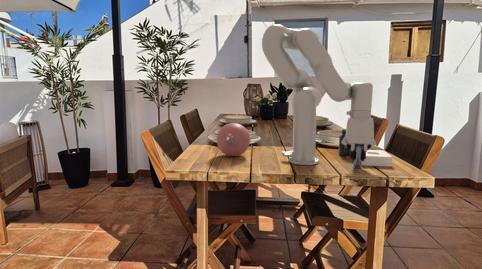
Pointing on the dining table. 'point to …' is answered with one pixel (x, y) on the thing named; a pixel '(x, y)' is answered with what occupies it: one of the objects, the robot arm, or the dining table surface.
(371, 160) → the socket block
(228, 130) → the pink rounded piece
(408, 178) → the dining table surface
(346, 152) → the supplement bottle
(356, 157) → the red topped grey cylinder
